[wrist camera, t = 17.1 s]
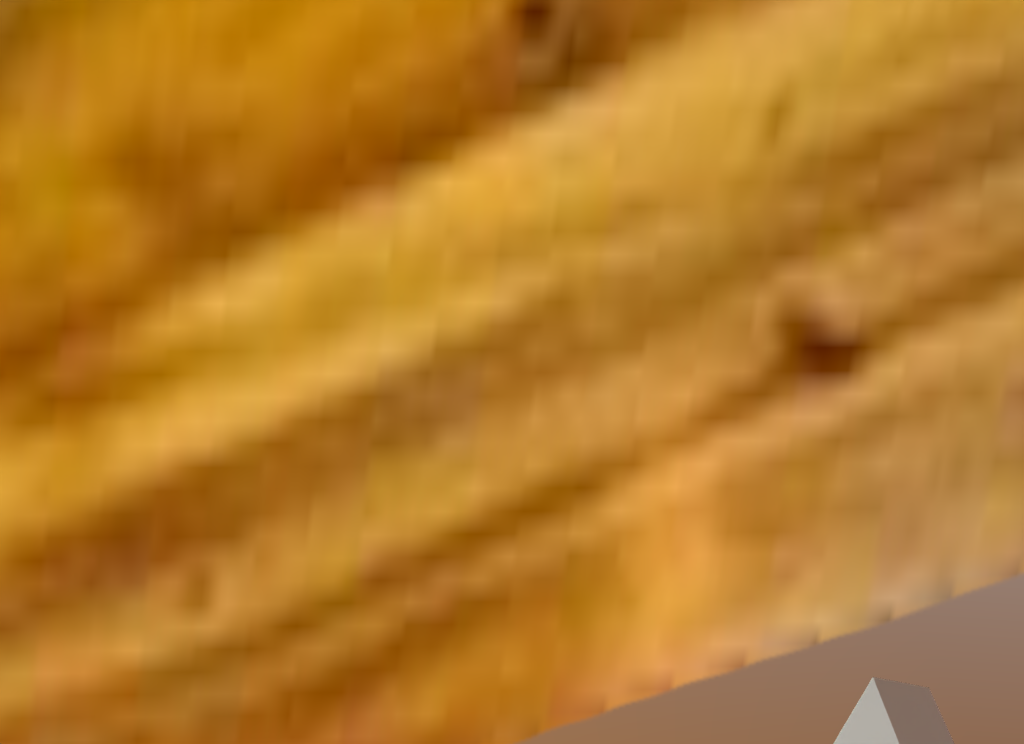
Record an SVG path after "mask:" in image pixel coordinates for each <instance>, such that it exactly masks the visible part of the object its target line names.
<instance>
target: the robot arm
mask: <svg viewBox="0 0 1024 744" xmlns="http://www.w3.org/2000/svg"><path fill="white" fill-rule="evenodd" d="M834 744H954V742H953V740H952V737H951V735H950V733H949V731H948V729H947V726H946V724H945V722H944V720H943V718H942V715H941V714H940V711H939V709H938V707H937V705H936V702H935V700H934V698H933V696H932V693H931V691H930V689H929V688H928V687H923V686H918V685H913V684H907V683H902V682H897V681H892V680H886V679H881V678H876V677H873V678H872V679H871V681H870V683H869V685H868V686H867V688H866V690H865V691H864V693H863V694H862V696H861V698H860V700H859V701H858V703H857V705H856V706H855V708H854V710H853V711H852V713H851V715H850V716H849V718H848V720H847V722H846V723H845V725H844V727H843V728H842V730H841V732H840V733H839V735H838V737H837V738H836V740H835V742H834Z"/></svg>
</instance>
